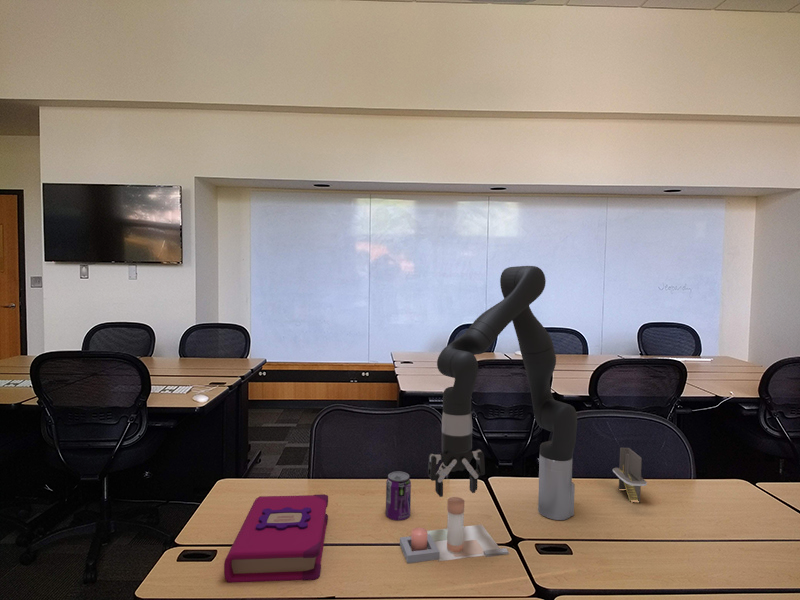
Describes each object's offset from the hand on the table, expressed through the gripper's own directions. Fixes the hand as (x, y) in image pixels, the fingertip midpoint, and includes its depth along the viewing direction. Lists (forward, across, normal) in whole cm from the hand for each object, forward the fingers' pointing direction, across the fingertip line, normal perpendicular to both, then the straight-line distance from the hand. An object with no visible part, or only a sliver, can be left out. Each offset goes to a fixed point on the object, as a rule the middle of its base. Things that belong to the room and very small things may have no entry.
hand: (456, 493), depth 114 cm
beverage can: (+15, +10, -20) cm, 27 cm away
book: (+15, +42, -12) cm, 46 cm away
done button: (+13, +9, -1) cm, 16 cm away
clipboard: (+15, -3, -3) cm, 16 cm away
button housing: (+15, +9, -1) cm, 18 cm away
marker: (+14, 0, 0) cm, 14 cm away
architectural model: (+17, -65, -17) cm, 69 cm away
